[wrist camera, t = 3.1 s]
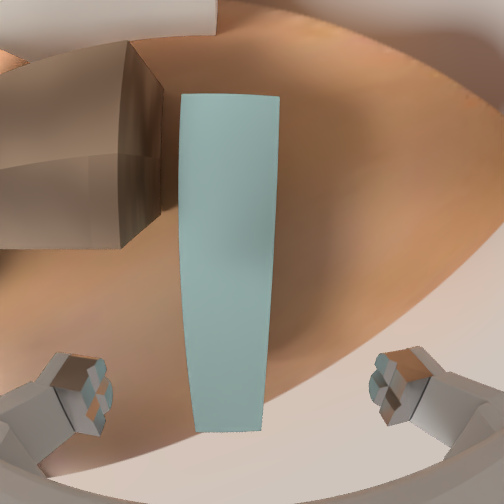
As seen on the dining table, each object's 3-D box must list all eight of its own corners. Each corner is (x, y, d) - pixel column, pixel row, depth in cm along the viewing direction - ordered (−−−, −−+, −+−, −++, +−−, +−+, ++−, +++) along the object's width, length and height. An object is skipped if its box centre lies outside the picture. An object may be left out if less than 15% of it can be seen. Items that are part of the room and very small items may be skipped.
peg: (253, 390, 20) (261, 430, 16) (197, 390, 19) (195, 432, 16) (265, 113, 15) (279, 96, 11) (190, 111, 14) (181, 93, 11)
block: (160, 214, 18) (120, 249, 10) (53, 218, 17) (-21, 249, 9) (163, 88, 16) (127, 39, 8) (54, 104, 15) (-19, 83, 7)
